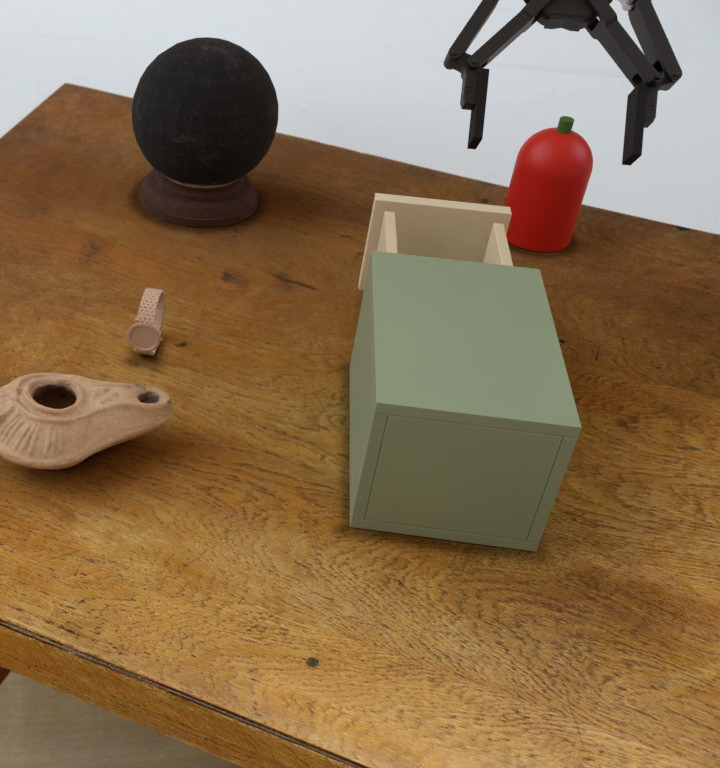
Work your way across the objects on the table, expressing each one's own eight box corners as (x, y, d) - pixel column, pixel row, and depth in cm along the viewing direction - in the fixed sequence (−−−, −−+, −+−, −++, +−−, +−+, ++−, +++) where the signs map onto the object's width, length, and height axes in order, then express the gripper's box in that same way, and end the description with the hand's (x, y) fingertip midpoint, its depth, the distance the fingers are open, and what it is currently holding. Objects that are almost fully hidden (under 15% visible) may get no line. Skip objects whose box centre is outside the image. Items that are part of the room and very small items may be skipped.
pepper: (563, 221, 104) (598, 107, 97) (574, 255, 99) (612, 138, 92) (494, 214, 104) (524, 100, 98) (501, 247, 99) (533, 130, 93)
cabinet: (349, 365, 84) (371, 250, 78) (505, 384, 83) (539, 268, 77) (349, 527, 70) (376, 402, 64) (536, 552, 69) (581, 427, 63)
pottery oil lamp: (188, 473, 73) (162, 425, 67) (17, 517, 75) (-24, 474, 69) (167, 362, 77) (141, 308, 72) (6, 406, 79) (-33, 357, 73)
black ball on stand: (271, 237, 99) (291, 75, 90) (124, 228, 99) (130, 66, 90) (264, 170, 110) (282, 20, 101) (131, 162, 110) (137, 11, 101)
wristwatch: (125, 362, 83) (127, 306, 80) (139, 328, 87) (142, 273, 84) (160, 368, 83) (164, 312, 80) (173, 333, 86) (177, 278, 83)
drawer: (358, 250, 96) (374, 163, 91) (479, 263, 95) (502, 176, 90) (359, 403, 79) (379, 305, 74) (508, 421, 78) (538, 324, 73)
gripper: (442, -106, 98) (417, 121, 96) (734, -82, 96) (716, 152, 93) (427, -61, 106) (403, 151, 103) (697, -38, 103) (681, 180, 101)
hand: (552, 152), depth 98 cm, fingers open, 13 cm apart
